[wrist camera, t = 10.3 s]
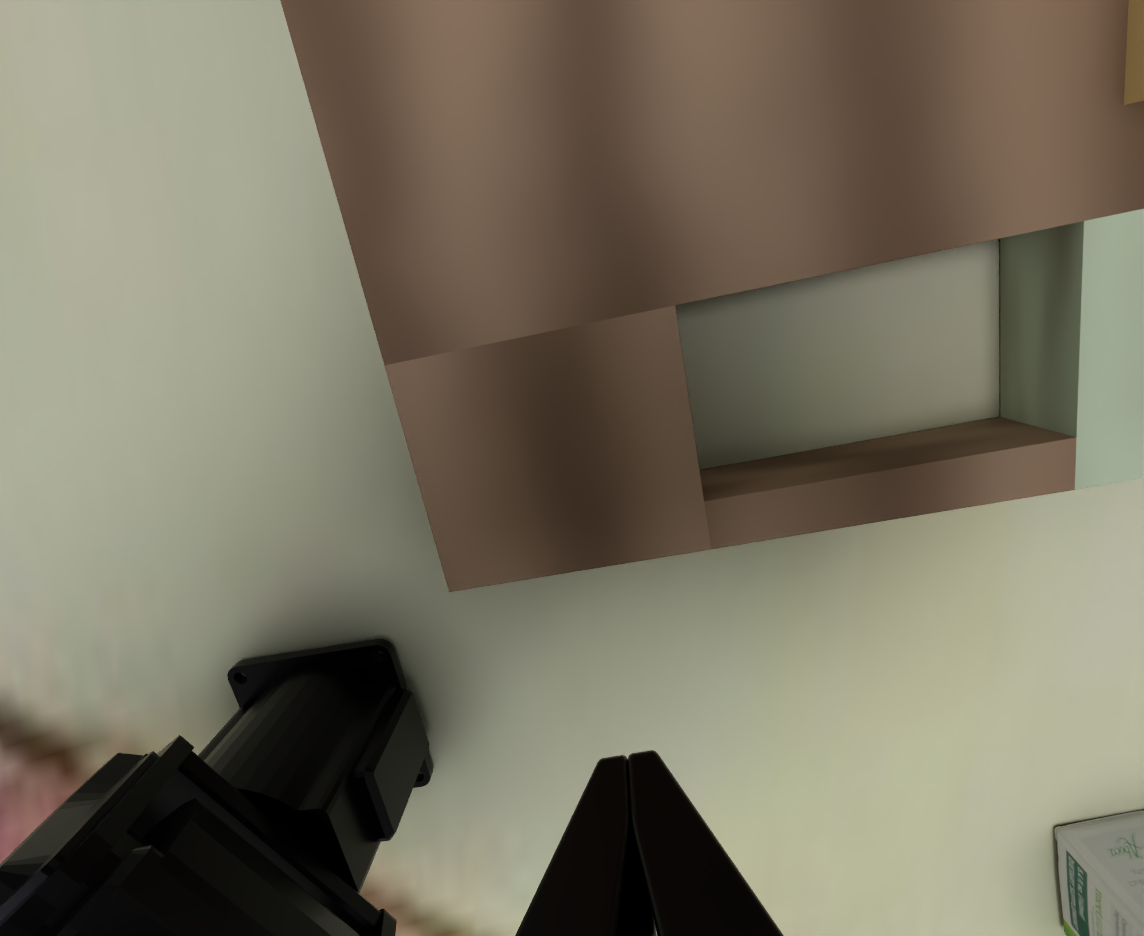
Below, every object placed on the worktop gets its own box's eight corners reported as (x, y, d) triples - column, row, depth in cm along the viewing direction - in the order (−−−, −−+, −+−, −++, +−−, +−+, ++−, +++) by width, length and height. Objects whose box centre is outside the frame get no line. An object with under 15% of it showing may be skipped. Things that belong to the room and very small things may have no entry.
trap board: (470, 551, 20) (449, 592, 17) (234, -329, 14) (139, -493, 11) (1269, 415, 18) (1399, 436, 15) (1412, -729, 12) (1684, -1075, 9)
